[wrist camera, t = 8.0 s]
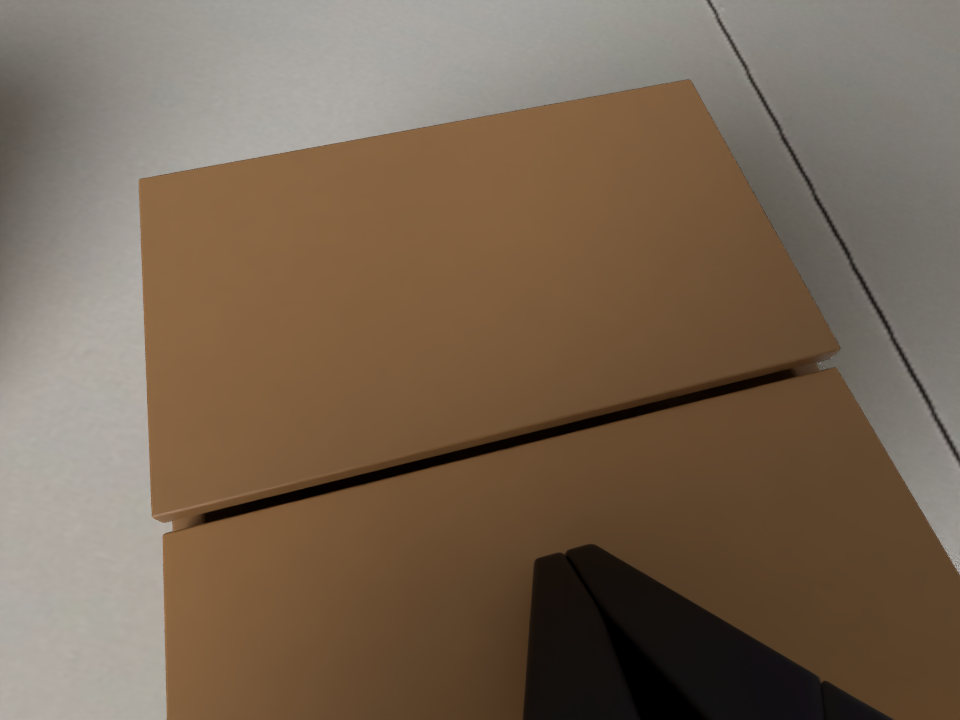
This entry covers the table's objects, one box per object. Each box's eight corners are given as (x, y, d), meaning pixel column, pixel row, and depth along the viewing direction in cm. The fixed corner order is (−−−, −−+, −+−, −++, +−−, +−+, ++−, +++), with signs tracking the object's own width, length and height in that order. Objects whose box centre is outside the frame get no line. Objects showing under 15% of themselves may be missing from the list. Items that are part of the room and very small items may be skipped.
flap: (1079, 813, 8) (1107, 819, 8) (190, 1135, 7) (174, 1159, 6) (825, 376, 11) (837, 365, 10) (172, 539, 9) (161, 532, 9)
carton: (774, 736, 16) (1116, 826, 8) (342, 876, 15) (170, 1173, 6) (603, 305, 21) (691, 74, 13) (276, 378, 20) (134, 175, 12)
